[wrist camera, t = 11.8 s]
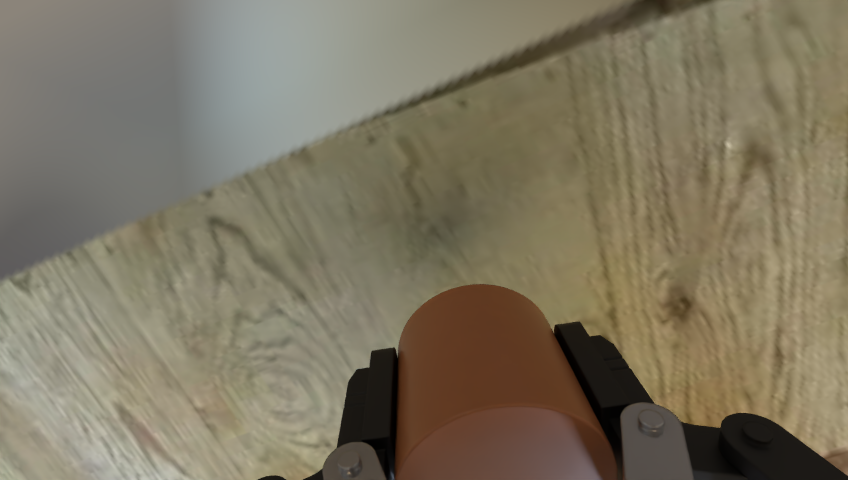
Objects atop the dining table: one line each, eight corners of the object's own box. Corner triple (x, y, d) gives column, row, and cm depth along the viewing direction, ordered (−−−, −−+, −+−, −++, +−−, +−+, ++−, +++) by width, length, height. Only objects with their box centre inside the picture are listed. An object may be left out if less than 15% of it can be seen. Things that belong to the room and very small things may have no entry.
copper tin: (366, 360, 15) (347, 505, 10) (470, 252, 13) (504, 363, 9) (478, 432, 16) (507, 587, 11) (583, 341, 15) (665, 477, 10)
